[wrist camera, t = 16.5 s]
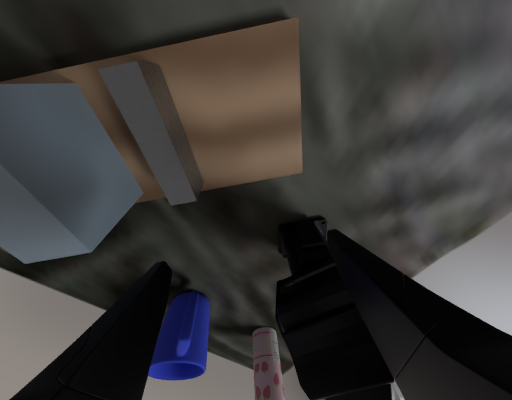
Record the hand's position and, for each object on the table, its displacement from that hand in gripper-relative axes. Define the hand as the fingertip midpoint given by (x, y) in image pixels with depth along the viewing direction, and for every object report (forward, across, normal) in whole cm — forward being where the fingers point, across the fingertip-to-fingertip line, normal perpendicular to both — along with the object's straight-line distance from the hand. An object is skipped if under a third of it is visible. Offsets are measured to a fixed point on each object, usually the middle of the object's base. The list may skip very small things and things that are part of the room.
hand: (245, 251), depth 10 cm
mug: (+12, +15, +22) cm, 29 cm away
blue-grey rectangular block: (+10, +14, -5) cm, 18 cm away
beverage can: (+13, +6, +42) cm, 44 cm away
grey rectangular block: (+10, +6, -5) cm, 13 cm away
